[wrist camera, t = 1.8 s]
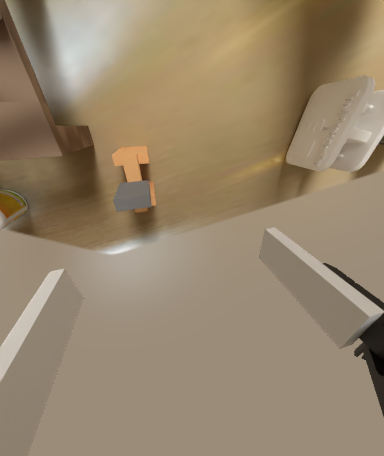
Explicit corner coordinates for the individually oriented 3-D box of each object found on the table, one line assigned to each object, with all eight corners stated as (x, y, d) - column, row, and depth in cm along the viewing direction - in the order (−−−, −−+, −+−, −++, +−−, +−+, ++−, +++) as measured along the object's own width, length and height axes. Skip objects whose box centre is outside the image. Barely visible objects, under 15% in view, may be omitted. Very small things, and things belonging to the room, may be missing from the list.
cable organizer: (310, 167, 44) (356, 178, 35) (279, 161, 41) (320, 172, 32) (345, 98, 37) (415, 88, 27) (310, 85, 34) (375, 69, 24)
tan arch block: (120, 147, 32) (97, 167, 16) (146, 145, 33) (148, 163, 17) (130, 190, 36) (120, 236, 21) (153, 187, 37) (159, 230, 22)
